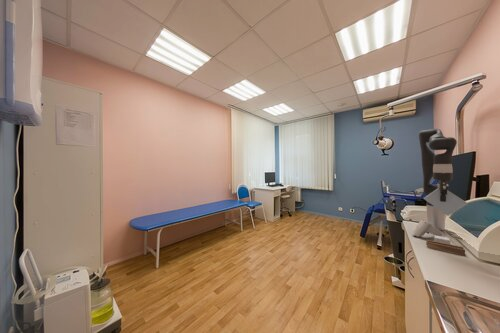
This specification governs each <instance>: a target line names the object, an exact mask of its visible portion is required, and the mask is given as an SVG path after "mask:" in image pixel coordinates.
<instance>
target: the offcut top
mask: <svg viewBox="0 0 500 333" xmlns="http://www.w3.org/2000/svg"><path fill="white" fill-rule="evenodd" d="M434 240H435V241H438V242H443V243H448V244H451V240H450V238H449V237H445V236H436V235H433V241H434Z"/></svg>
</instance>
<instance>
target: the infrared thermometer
mask: <svg viewBox="0 0 500 333" xmlns="http://www.w3.org/2000/svg"><path fill="white" fill-rule="evenodd" d="M425 234H432V235H433V236H434V235H436V236H441V237H443V235H444V233H443V232H442V230H438V229H436V228H435V227H434V226H432V225H431V224H429V223H427V221H425V220H421V219H420V221H418V223H417V224H416V225H415V228H414V230H413V231H412V236H415V237H417V238H422V237H423V236H424V235H425Z"/></svg>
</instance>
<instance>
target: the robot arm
mask: <svg viewBox="0 0 500 333" xmlns="http://www.w3.org/2000/svg"><path fill="white" fill-rule="evenodd" d="M418 140H419V145H420V146H419V147H420V152H421V168H422V177H423V179H422V180H423V186H422V188H423V194H424V195H425V197H426V196H428V195H429V194H430V193H432V192H433V191H435V190H436V189H438V188H439V191H440V201H441V202H446V195H447V191H449V183H447V181H453V179H454V178H453V165H452V164H453V153H454V151H455V148H456V146H457V143H458V142H457V139H456V138H455V137H450V136H449V137H448V136H447V137H446V136H444V134H443V132H442V130H441V129H439V128H431V129H430V128H429V129H424V130H420V131H419V133H418ZM427 143H428V145H427ZM444 150H445V152H442V153H437V154H435V153H434V152H433V151H444ZM432 179H433V180H435V181H438V182H436V183H437V184H433V183H432V184H431V180H432ZM440 189H441V190H440ZM444 192H445V193H444ZM425 204H426V223H429V224H431V225H432V226H434V227H435V228H436V229H438V230H440V231H445V230H446V227H445V226H446V221H445V220H446V214H444V213H443V212H442V211H440V210H439V209H437V208H436V207H435V206H433V205H432V204H430V203H429V202H427V201H426V203H425Z"/></svg>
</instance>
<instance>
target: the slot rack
mask: <svg viewBox="0 0 500 333" xmlns="http://www.w3.org/2000/svg"><path fill="white" fill-rule="evenodd" d="M425 245H426V248H428V249H433V250H437V251H443V252H447V253H451V254H456V255H460V256H464V257H466V249H465V248H464V246H461V245H460V246H459V245H455V244H451V243H450V244H446V243H441V242H436V241H434V240H430V239H425Z"/></svg>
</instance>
